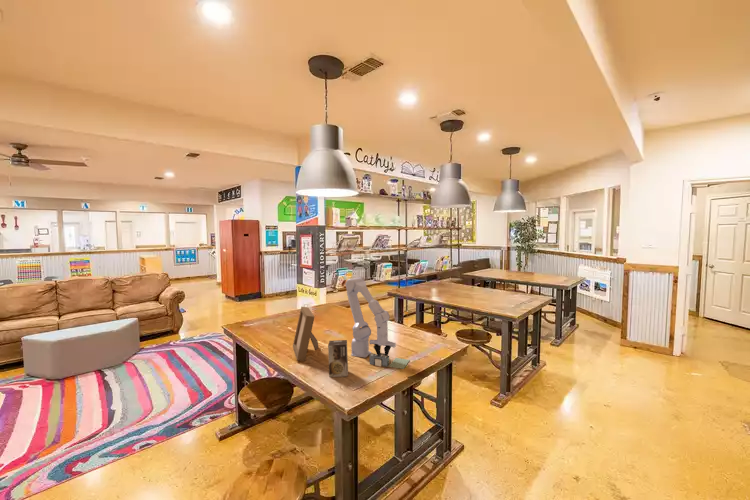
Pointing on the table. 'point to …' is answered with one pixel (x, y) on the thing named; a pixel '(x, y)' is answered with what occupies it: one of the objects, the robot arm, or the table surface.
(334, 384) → the table surface
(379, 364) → the plug
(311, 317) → the photo frame
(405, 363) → the mat
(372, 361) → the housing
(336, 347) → the coffee box
